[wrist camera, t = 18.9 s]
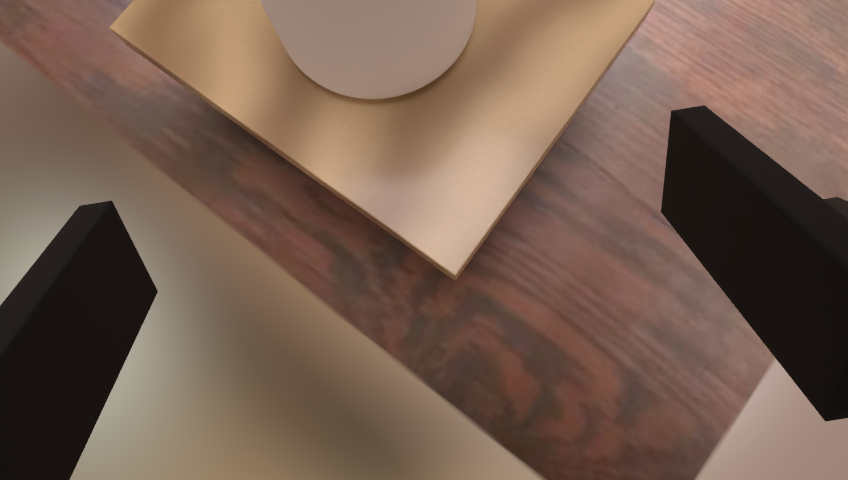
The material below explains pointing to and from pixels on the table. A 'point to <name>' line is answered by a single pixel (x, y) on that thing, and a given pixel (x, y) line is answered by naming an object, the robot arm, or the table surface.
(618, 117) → the table surface
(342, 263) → the table surface
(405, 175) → the board stand
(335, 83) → the beverage can
